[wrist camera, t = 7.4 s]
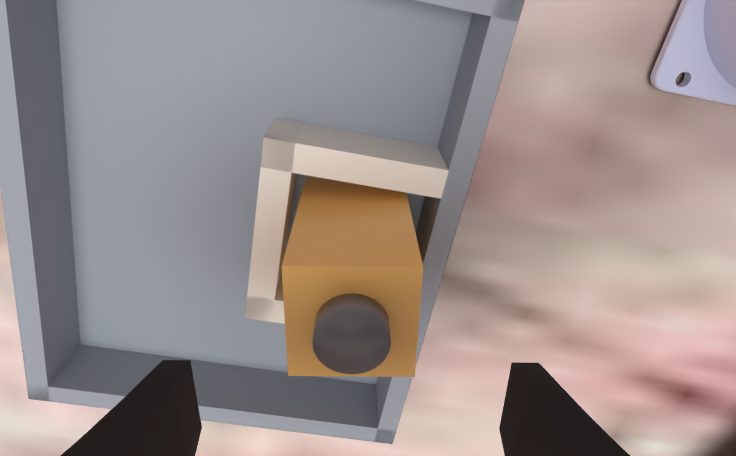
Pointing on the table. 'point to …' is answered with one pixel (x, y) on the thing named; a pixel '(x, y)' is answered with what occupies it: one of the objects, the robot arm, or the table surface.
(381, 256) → the connector
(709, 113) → the table surface
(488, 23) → the tray
